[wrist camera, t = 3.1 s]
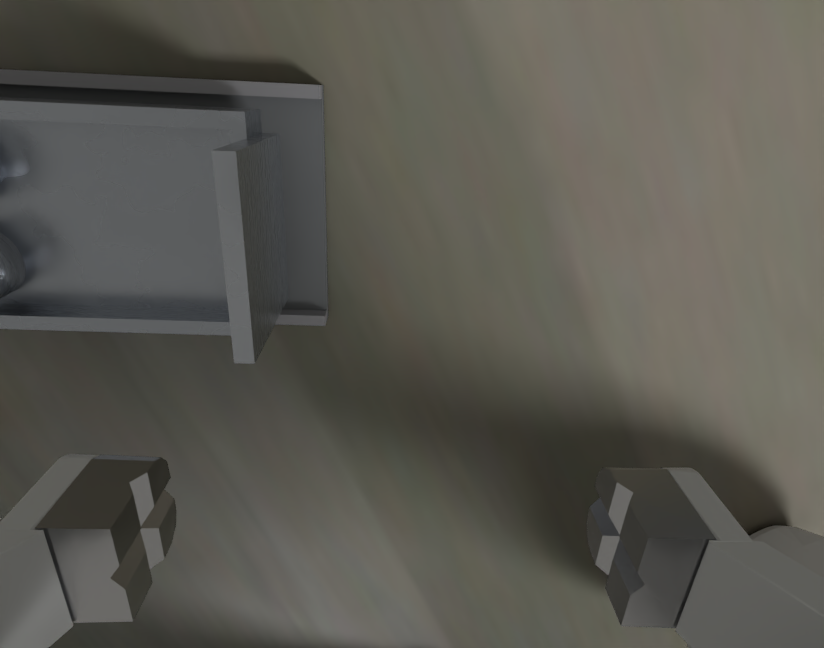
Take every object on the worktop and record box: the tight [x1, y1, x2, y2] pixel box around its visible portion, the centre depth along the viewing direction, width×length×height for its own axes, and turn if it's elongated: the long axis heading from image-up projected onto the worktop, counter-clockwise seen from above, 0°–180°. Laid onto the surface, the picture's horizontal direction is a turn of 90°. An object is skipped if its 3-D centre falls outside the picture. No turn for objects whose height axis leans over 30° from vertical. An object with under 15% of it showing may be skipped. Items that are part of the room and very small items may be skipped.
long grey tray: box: [0, 97, 289, 364], centre depth 23 cm, size 17×10×9 cm, turn 87°
